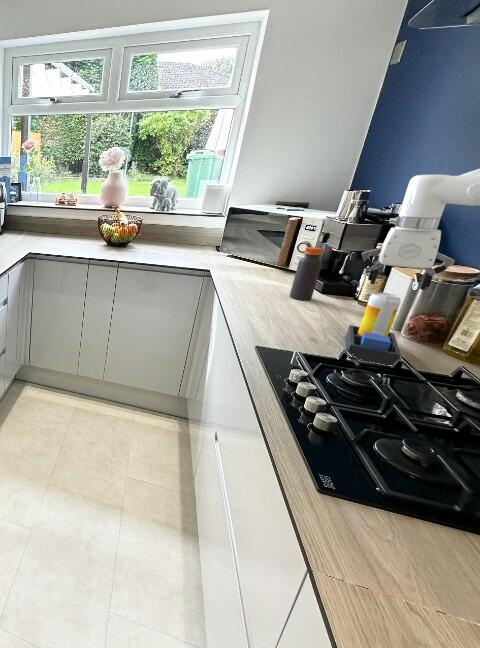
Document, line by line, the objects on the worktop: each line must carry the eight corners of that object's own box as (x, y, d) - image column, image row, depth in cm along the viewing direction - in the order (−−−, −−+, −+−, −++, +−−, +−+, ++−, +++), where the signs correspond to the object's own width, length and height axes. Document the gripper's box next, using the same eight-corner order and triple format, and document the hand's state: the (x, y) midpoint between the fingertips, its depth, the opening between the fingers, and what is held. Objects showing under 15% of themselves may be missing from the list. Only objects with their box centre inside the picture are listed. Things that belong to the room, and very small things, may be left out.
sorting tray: (389, 345, 116) (394, 333, 115) (395, 368, 103) (400, 354, 102) (345, 336, 122) (349, 324, 121) (346, 357, 109) (350, 344, 108)
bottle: (285, 296, 159) (298, 247, 152) (297, 294, 161) (311, 246, 154) (302, 301, 153) (317, 250, 146) (315, 300, 155) (330, 249, 148)
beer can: (375, 341, 117) (393, 292, 112) (388, 349, 112) (407, 299, 107) (350, 338, 119) (366, 291, 114) (361, 346, 114) (379, 297, 109)
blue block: (382, 353, 110) (389, 336, 108) (384, 359, 106) (390, 342, 104) (358, 348, 113) (363, 331, 111) (358, 354, 109) (364, 337, 108)
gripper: (372, 223, 108) (354, 283, 113) (471, 227, 97) (445, 294, 102) (370, 220, 113) (353, 278, 118) (464, 224, 102) (440, 288, 107)
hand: (396, 285), depth 110 cm, fingers open, 9 cm apart
